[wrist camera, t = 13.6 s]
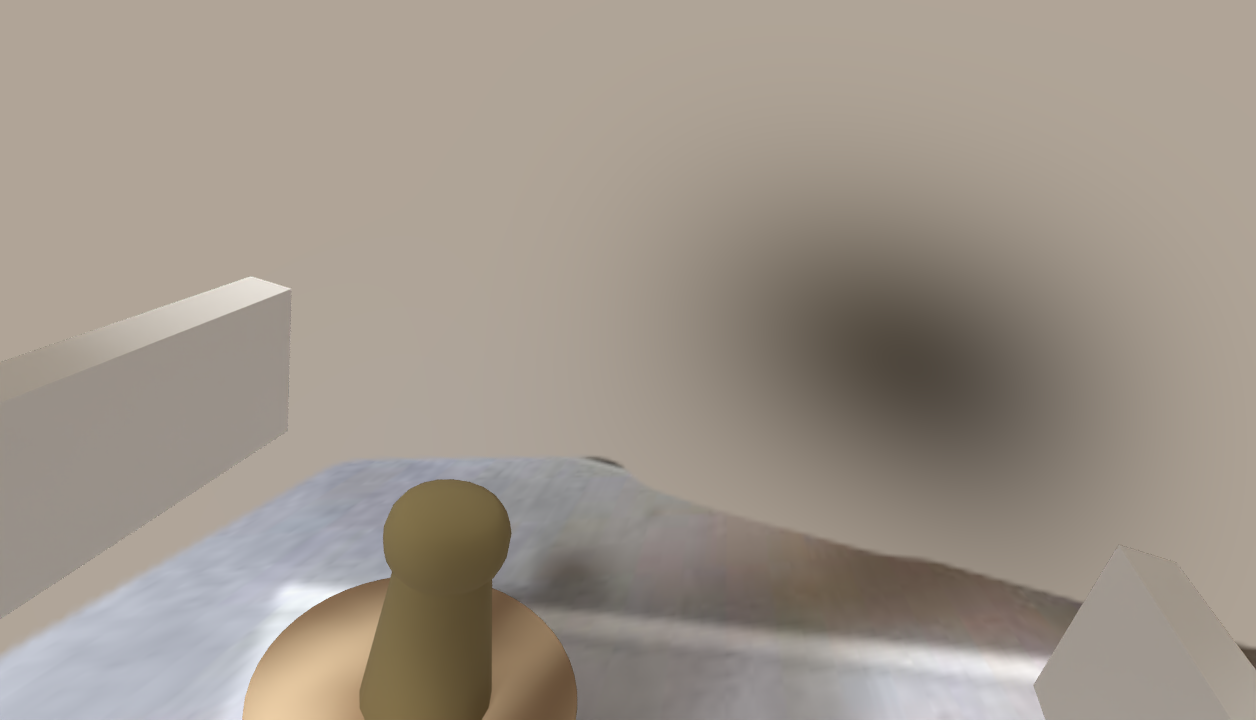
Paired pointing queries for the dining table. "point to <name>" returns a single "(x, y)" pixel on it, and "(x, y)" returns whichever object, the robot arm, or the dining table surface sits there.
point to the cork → (437, 605)
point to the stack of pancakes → (340, 646)
